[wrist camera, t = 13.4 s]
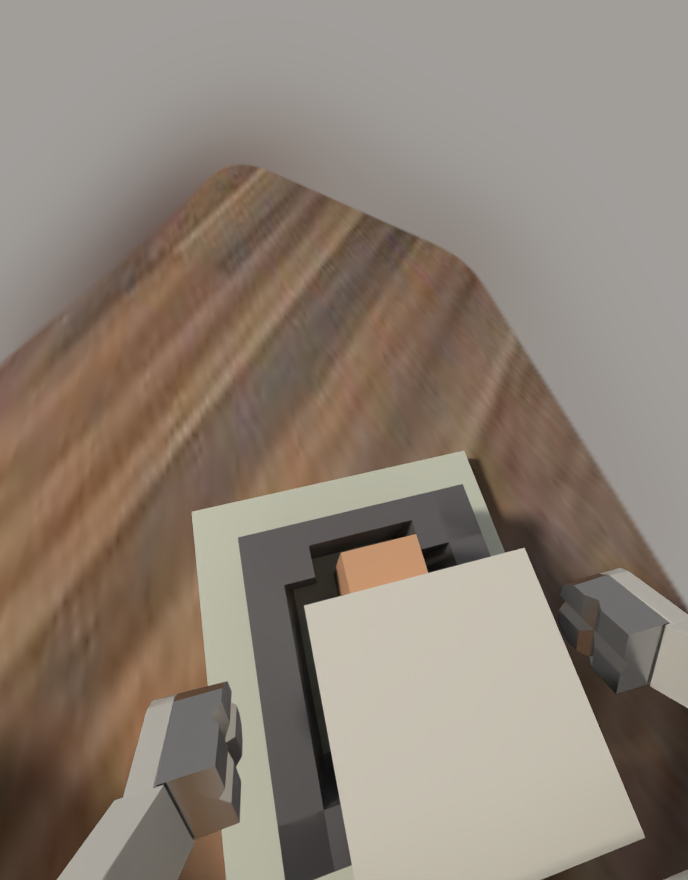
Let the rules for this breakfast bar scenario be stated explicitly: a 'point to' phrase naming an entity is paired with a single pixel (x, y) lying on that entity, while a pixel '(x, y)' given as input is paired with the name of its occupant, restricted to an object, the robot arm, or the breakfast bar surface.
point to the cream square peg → (459, 722)
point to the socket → (308, 638)
